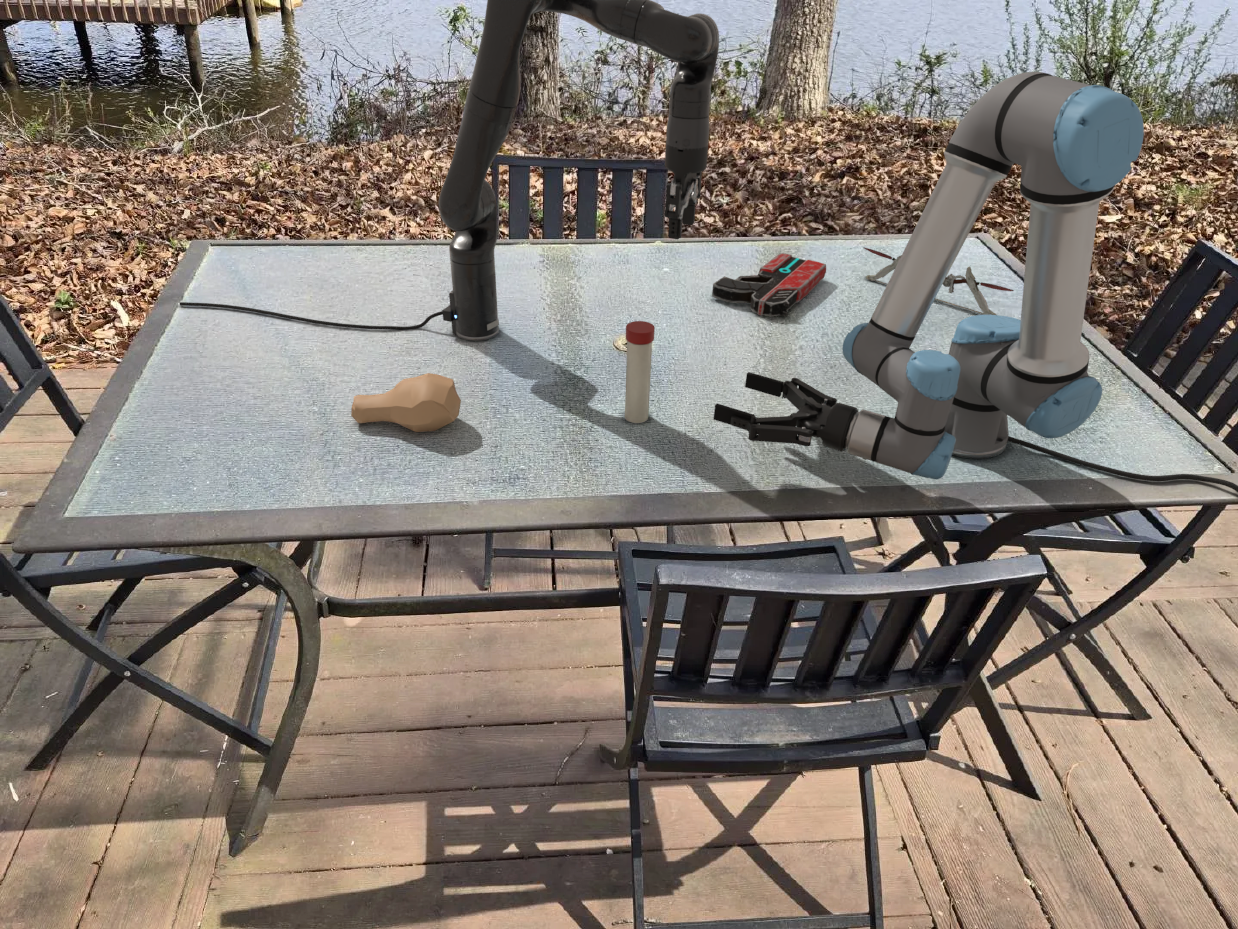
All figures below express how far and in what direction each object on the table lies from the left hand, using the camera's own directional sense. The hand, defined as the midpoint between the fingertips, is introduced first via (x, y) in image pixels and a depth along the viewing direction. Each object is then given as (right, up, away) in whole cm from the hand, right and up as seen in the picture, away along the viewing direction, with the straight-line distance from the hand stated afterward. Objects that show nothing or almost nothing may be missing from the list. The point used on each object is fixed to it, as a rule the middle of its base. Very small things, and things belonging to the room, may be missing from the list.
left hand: (681, 231), depth 164 cm
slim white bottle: (-8, -35, 0) cm, 36 cm away
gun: (+26, -1, +53) cm, 59 cm away
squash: (-50, -36, -3) cm, 62 cm away
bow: (+64, -3, +52) cm, 82 cm away
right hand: (+7, -32, -14) cm, 36 cm away
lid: (-8, -20, -10) cm, 23 cm away
